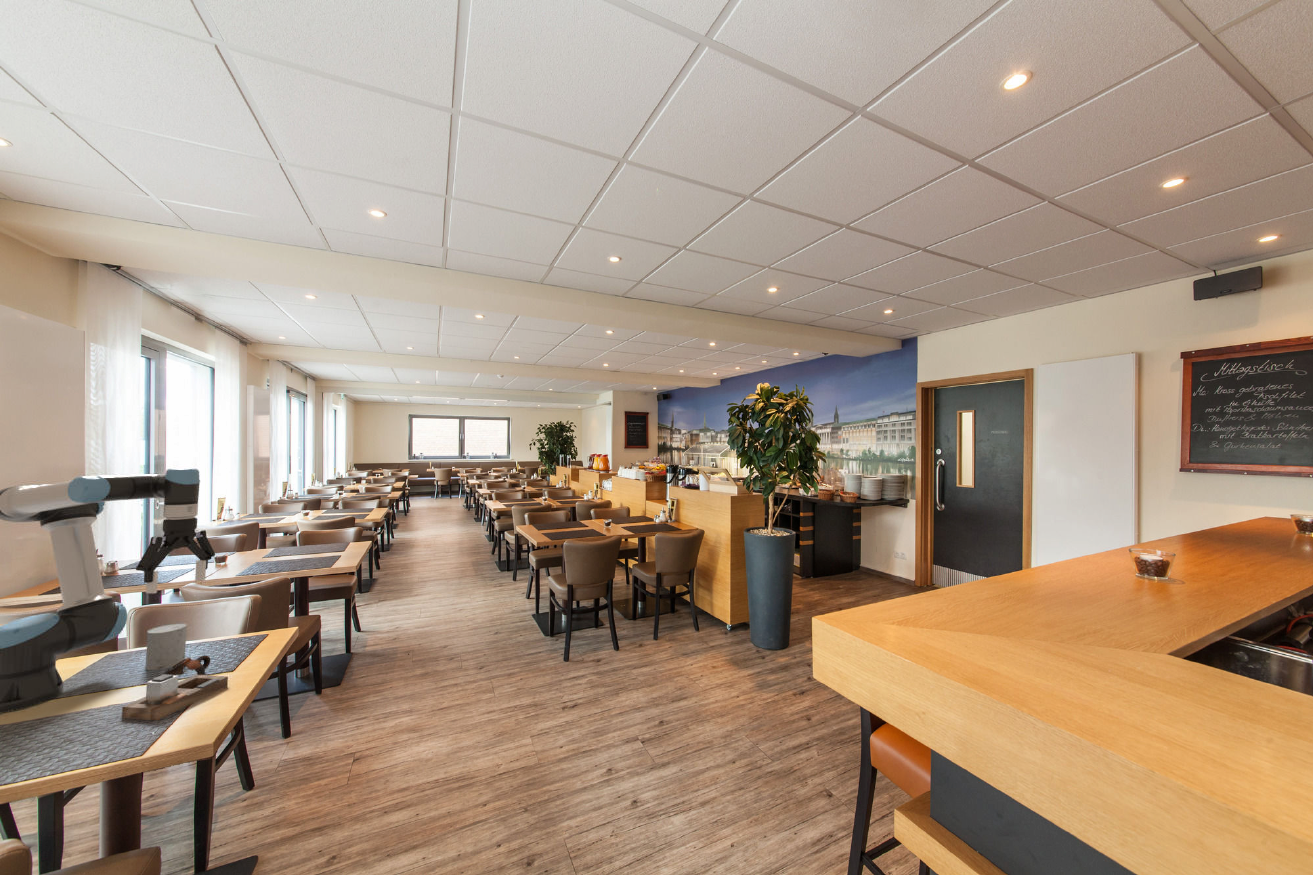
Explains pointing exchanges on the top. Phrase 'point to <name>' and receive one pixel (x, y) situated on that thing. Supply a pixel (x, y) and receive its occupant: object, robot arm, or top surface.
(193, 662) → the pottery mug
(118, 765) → the top surface
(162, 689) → the plug
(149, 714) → the socket board
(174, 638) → the grey cylinder
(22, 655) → the robot arm
